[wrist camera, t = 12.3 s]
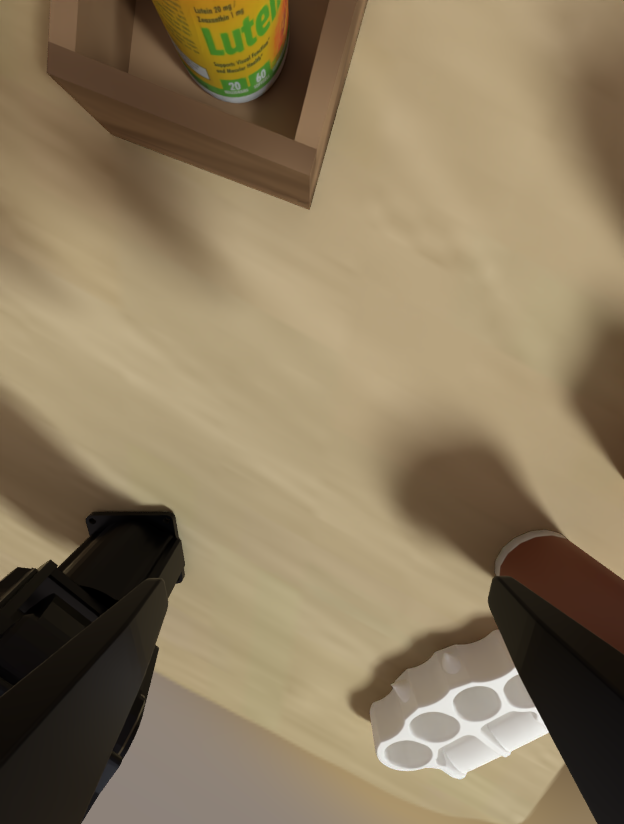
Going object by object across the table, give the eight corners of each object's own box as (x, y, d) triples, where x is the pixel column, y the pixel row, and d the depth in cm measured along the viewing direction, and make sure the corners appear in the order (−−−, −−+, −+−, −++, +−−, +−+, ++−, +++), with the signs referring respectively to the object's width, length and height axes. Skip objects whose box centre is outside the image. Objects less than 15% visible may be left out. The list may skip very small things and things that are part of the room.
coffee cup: (559, 494, 22) (826, 677, 11) (608, 566, 24) (876, 784, 13) (457, 557, 24) (593, 775, 12) (511, 620, 26) (671, 855, 15)
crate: (309, 209, 17) (309, 175, 13) (111, 134, 15) (46, 72, 12) (382, -53, 13) (411, -201, 10) (142, -170, 12) (68, -388, 9)
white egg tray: (426, 756, 33) (339, 692, 29) (572, 679, 29) (491, 597, 26) (439, 803, 29) (343, 738, 26) (605, 723, 26) (517, 636, 23)
